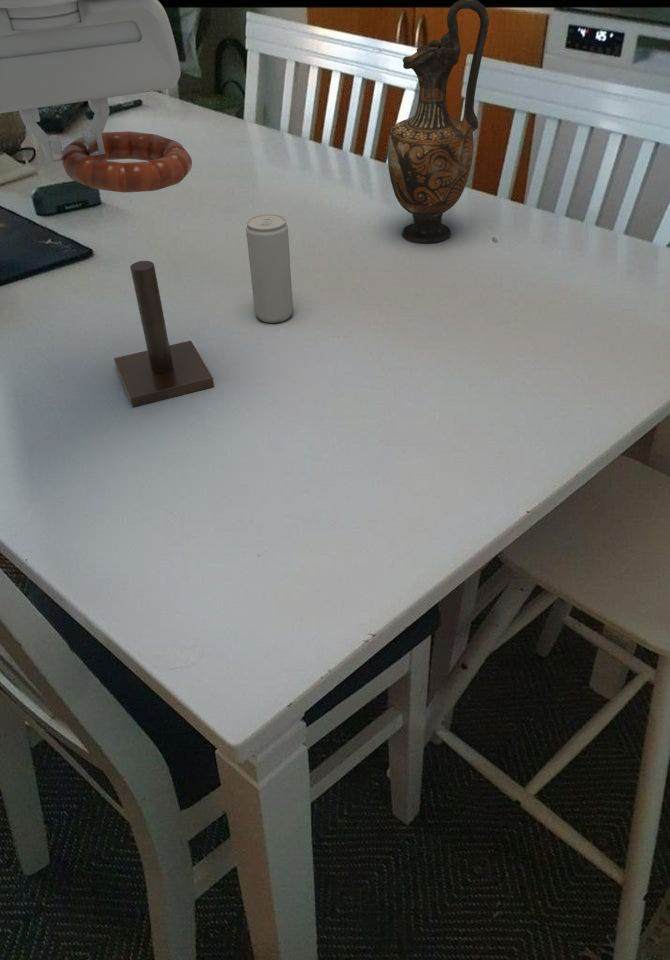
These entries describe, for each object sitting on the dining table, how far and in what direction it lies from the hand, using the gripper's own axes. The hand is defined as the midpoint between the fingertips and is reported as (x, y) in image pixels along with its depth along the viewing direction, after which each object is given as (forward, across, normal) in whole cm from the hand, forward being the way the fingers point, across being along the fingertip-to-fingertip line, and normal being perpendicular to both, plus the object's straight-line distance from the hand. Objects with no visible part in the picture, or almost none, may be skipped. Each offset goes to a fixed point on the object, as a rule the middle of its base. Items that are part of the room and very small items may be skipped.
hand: (75, 156), depth 71 cm
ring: (+1, +4, 0) cm, 4 cm away
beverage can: (+26, +20, +10) cm, 34 cm away
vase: (+26, +49, +24) cm, 60 cm away
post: (+25, +4, +2) cm, 26 cm away
